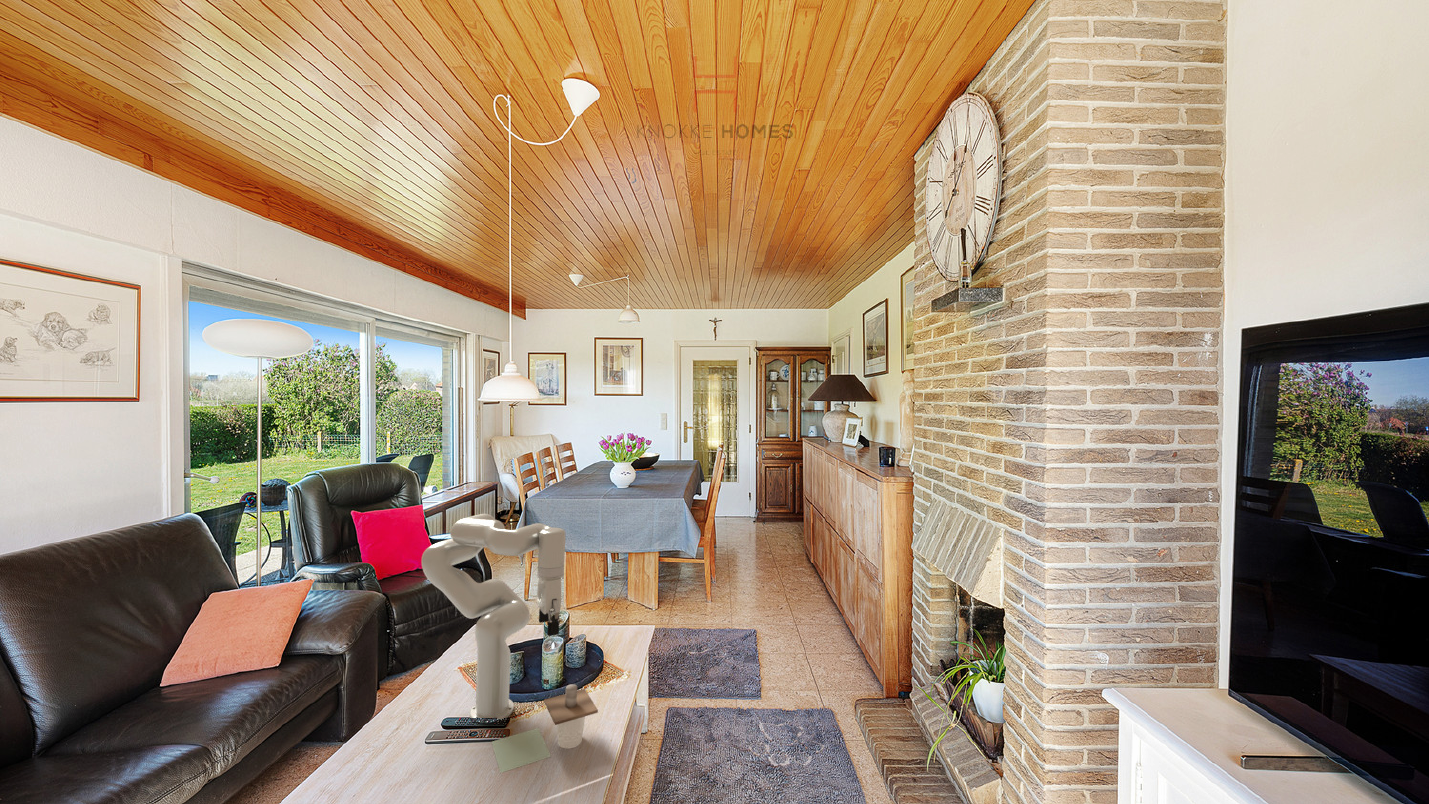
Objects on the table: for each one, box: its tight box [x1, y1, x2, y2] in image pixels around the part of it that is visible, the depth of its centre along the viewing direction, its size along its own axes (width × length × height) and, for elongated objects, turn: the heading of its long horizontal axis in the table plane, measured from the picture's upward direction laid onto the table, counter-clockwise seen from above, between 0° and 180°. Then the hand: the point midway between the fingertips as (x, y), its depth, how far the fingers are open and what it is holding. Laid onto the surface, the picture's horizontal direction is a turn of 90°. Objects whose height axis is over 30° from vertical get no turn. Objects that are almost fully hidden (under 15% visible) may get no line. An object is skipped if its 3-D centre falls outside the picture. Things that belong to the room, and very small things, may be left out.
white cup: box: [556, 716, 586, 749], centre depth 149 cm, size 8×8×10 cm
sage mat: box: [491, 727, 551, 774], centre depth 145 cm, size 14×13×1 cm
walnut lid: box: [543, 683, 599, 726], centre depth 149 cm, size 12×12×6 cm
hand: (548, 628), depth 154 cm, fingers open, 9 cm apart
